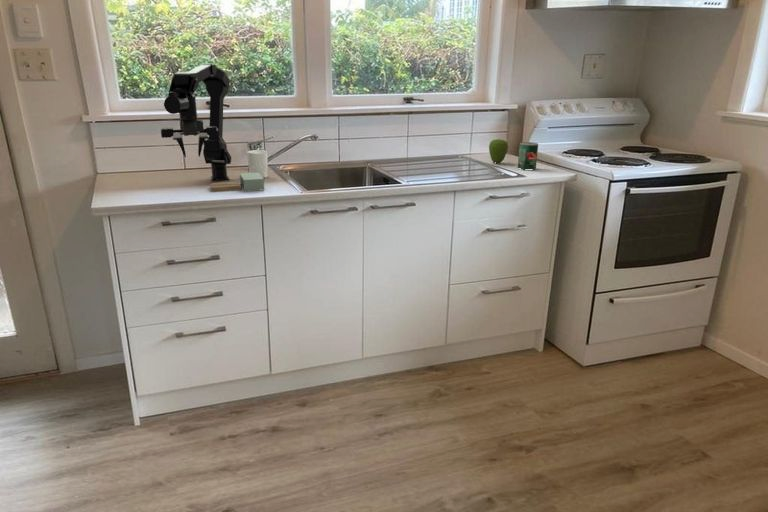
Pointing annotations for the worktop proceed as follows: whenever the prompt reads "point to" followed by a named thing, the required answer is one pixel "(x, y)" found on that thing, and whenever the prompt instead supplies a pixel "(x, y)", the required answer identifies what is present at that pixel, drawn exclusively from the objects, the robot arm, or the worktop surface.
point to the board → (225, 186)
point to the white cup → (258, 162)
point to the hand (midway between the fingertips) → (192, 156)
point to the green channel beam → (252, 181)
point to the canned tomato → (527, 155)
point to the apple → (498, 150)
